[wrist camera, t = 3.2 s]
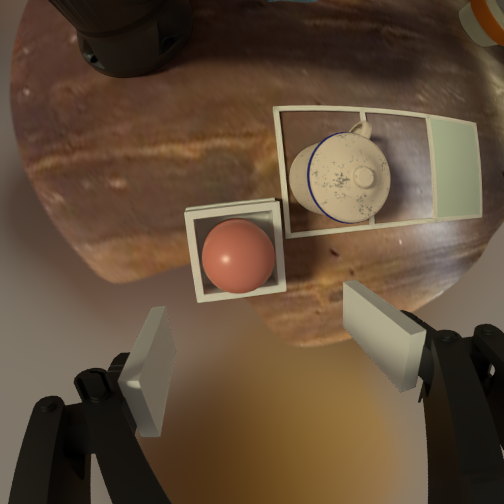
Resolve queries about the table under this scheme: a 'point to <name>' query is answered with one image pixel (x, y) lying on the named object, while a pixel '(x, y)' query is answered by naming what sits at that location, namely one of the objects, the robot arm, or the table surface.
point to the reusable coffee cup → (484, 21)
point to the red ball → (238, 256)
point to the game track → (442, 169)
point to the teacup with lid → (342, 176)
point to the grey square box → (254, 210)
